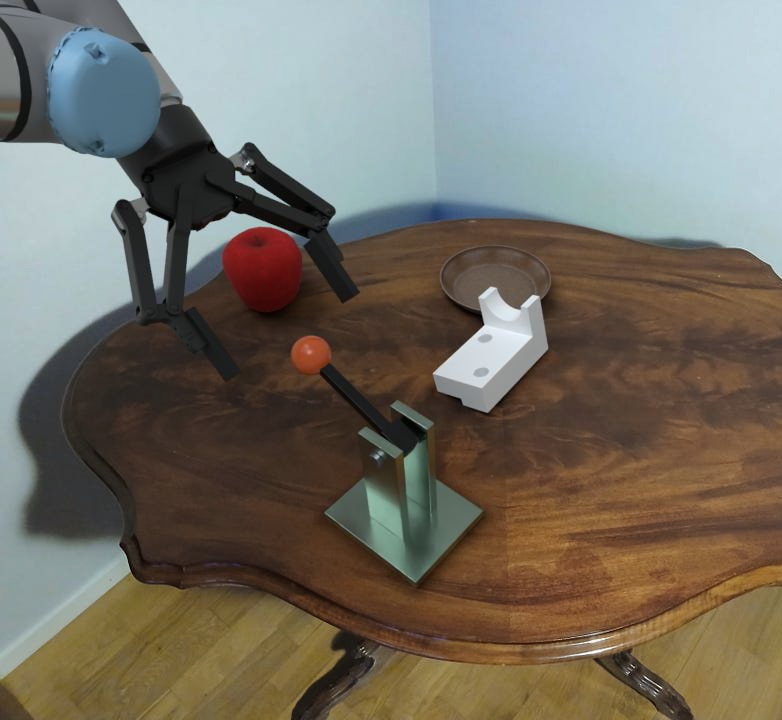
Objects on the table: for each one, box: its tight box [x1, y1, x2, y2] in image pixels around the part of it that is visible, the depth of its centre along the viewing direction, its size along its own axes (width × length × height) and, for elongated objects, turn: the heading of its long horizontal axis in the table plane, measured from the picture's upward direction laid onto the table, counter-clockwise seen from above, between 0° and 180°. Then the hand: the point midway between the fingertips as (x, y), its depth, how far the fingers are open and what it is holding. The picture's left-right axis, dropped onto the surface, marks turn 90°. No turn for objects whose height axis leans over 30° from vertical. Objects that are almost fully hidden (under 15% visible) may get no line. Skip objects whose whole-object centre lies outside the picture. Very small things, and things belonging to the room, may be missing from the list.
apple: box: [221, 226, 303, 313], centre depth 92 cm, size 10×10×11 cm
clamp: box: [323, 399, 484, 590], centre depth 67 cm, size 12×10×14 cm
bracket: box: [432, 287, 549, 414], centre depth 85 cm, size 13×7×8 cm, turn 145°
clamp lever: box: [290, 335, 420, 458], centre depth 65 cm, size 14×4×4 cm, turn 52°
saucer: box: [439, 244, 552, 316], centre depth 97 cm, size 15×15×3 cm
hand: (296, 335), depth 65 cm, fingers open, 13 cm apart
